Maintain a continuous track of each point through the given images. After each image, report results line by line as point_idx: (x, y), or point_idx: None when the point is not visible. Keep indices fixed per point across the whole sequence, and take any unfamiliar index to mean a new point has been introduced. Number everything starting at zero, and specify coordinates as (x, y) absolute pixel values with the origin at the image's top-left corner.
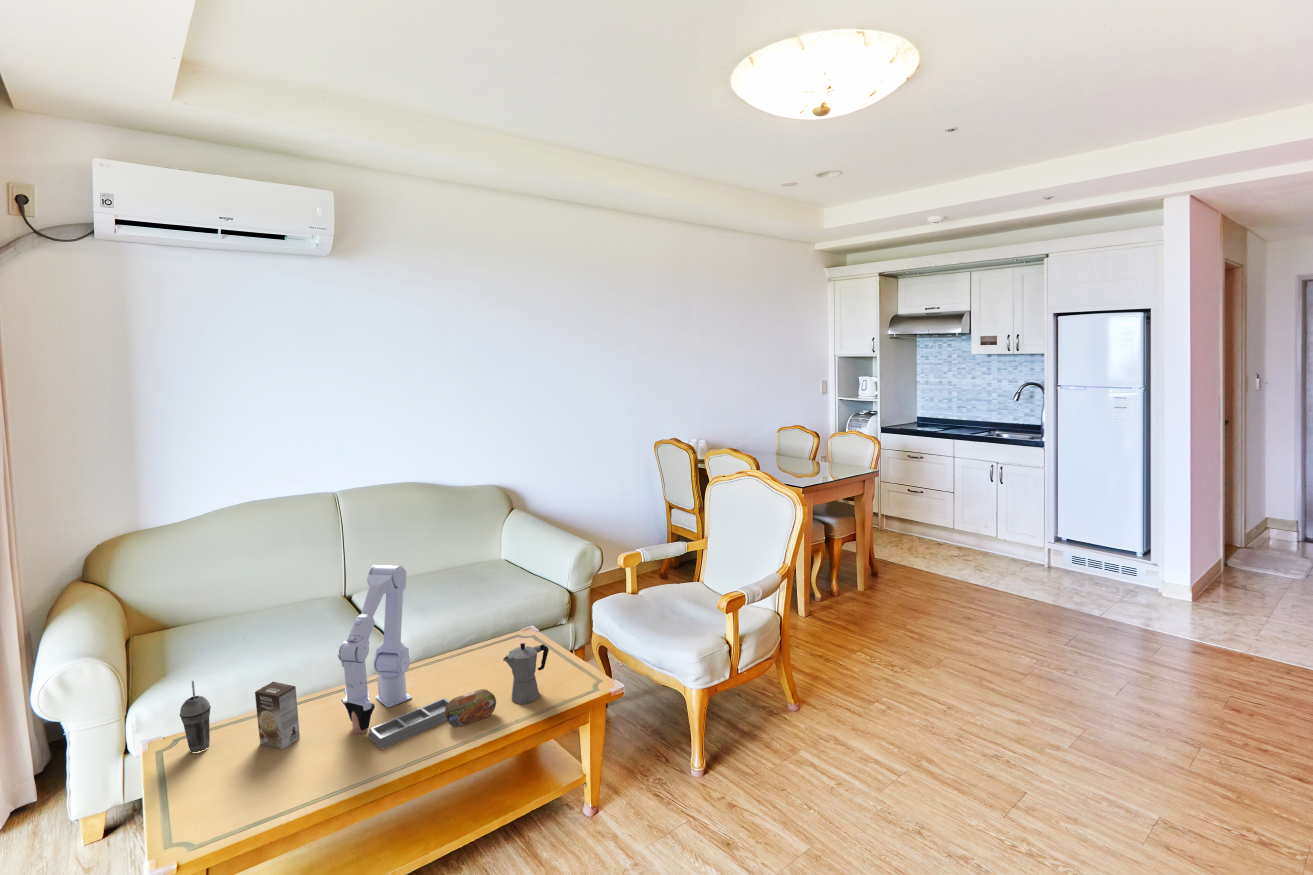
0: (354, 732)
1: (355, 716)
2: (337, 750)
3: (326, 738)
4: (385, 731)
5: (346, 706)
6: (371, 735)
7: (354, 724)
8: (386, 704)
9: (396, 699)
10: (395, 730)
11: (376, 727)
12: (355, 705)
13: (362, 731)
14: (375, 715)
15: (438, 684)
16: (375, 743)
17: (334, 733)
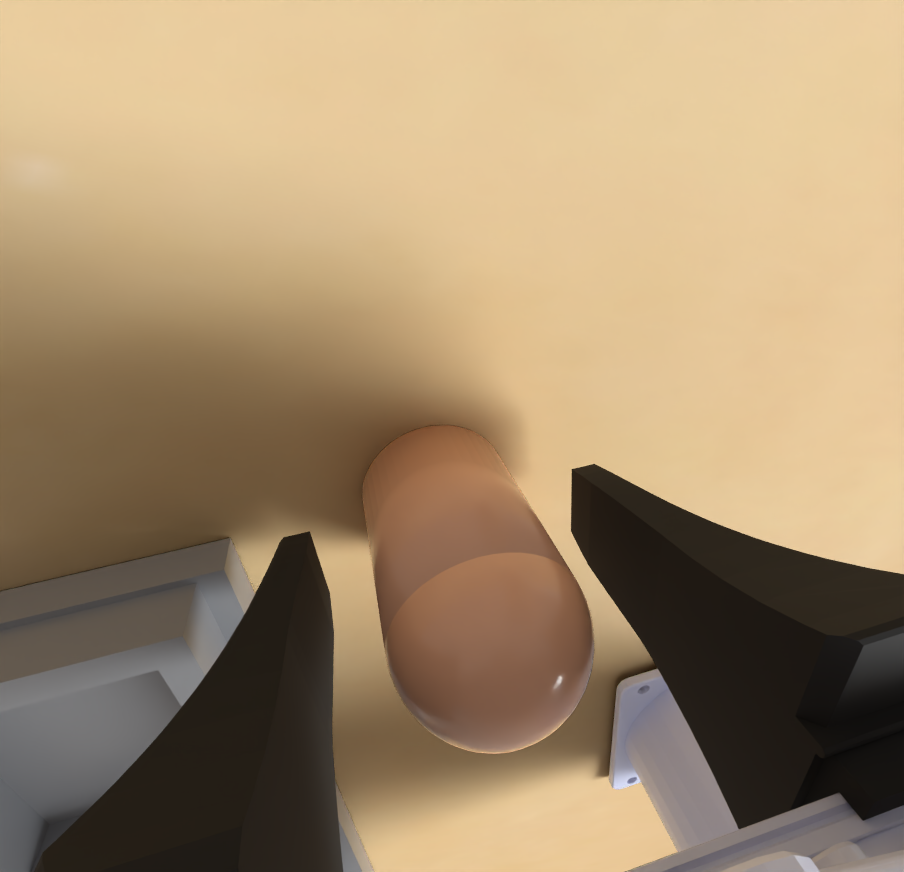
0: (404, 441)
1: (414, 615)
2: (62, 168)
3: (529, 120)
4: (160, 699)
5: (734, 588)
6: (132, 599)
7: (413, 506)
8: (659, 680)
9: (641, 750)
10: (129, 761)
11: (178, 691)
12: (682, 656)
13: (364, 510)
14: (590, 606)
15: (635, 856)
16: (17, 589)
17: (572, 245)
